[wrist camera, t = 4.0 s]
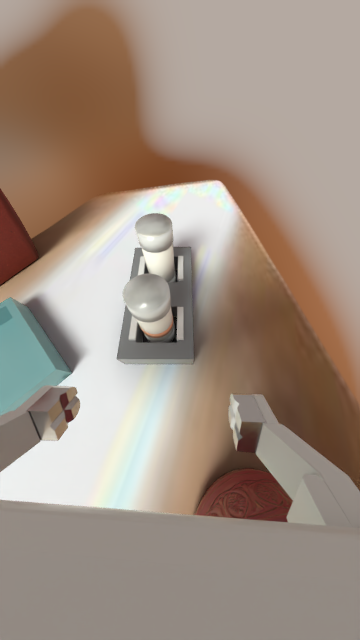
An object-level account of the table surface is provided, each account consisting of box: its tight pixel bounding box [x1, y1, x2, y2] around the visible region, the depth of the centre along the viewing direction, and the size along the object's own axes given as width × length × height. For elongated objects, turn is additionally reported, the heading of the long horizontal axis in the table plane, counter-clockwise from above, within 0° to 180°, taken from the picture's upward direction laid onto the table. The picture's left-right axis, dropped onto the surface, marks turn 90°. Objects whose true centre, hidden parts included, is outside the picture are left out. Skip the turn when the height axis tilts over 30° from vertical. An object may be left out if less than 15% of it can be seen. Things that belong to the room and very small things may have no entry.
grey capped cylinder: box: [123, 274, 175, 343], centre depth 19 cm, size 4×4×10 cm
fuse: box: [135, 213, 176, 282], centre depth 23 cm, size 4×4×10 cm
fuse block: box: [117, 247, 194, 364], centre depth 24 cm, size 18×9×3 cm, turn 0°
